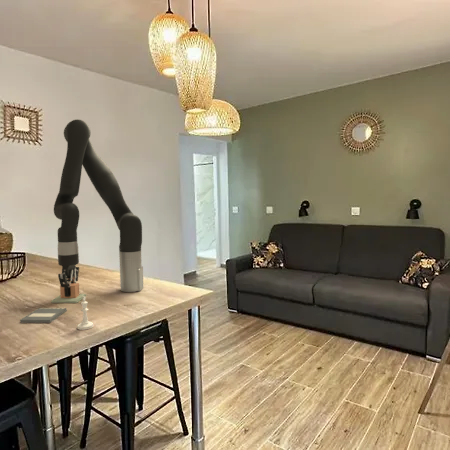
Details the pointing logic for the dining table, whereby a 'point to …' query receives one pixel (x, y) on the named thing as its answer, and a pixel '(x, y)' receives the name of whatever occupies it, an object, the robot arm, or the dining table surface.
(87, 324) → the chess piece
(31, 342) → the dining table surface
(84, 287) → the dining table surface
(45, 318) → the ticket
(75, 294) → the green plate orange block
